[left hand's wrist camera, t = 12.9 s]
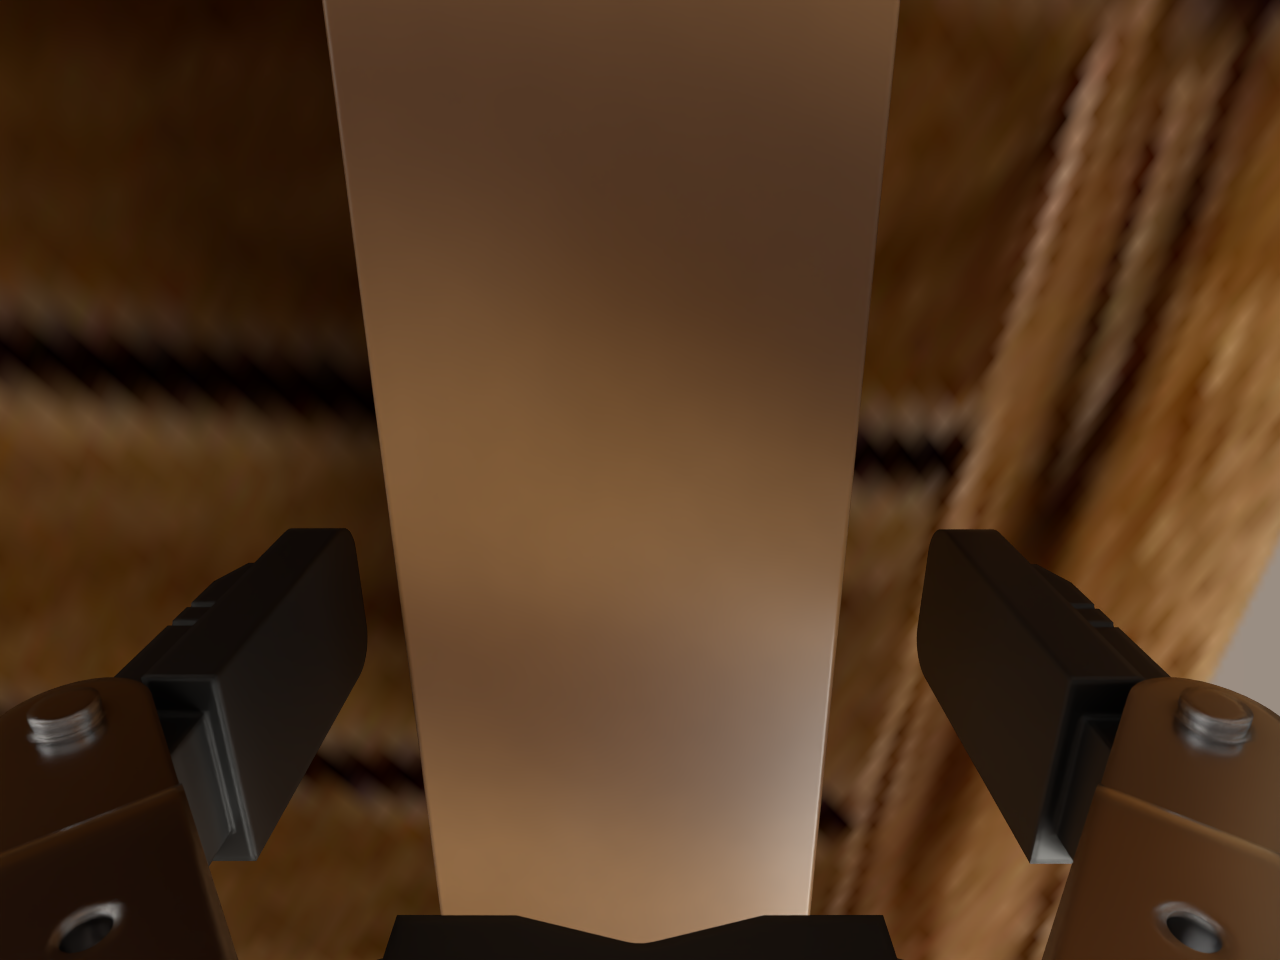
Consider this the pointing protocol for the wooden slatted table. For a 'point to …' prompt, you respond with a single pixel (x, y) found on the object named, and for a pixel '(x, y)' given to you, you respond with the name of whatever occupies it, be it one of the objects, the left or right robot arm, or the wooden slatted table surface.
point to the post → (617, 428)
